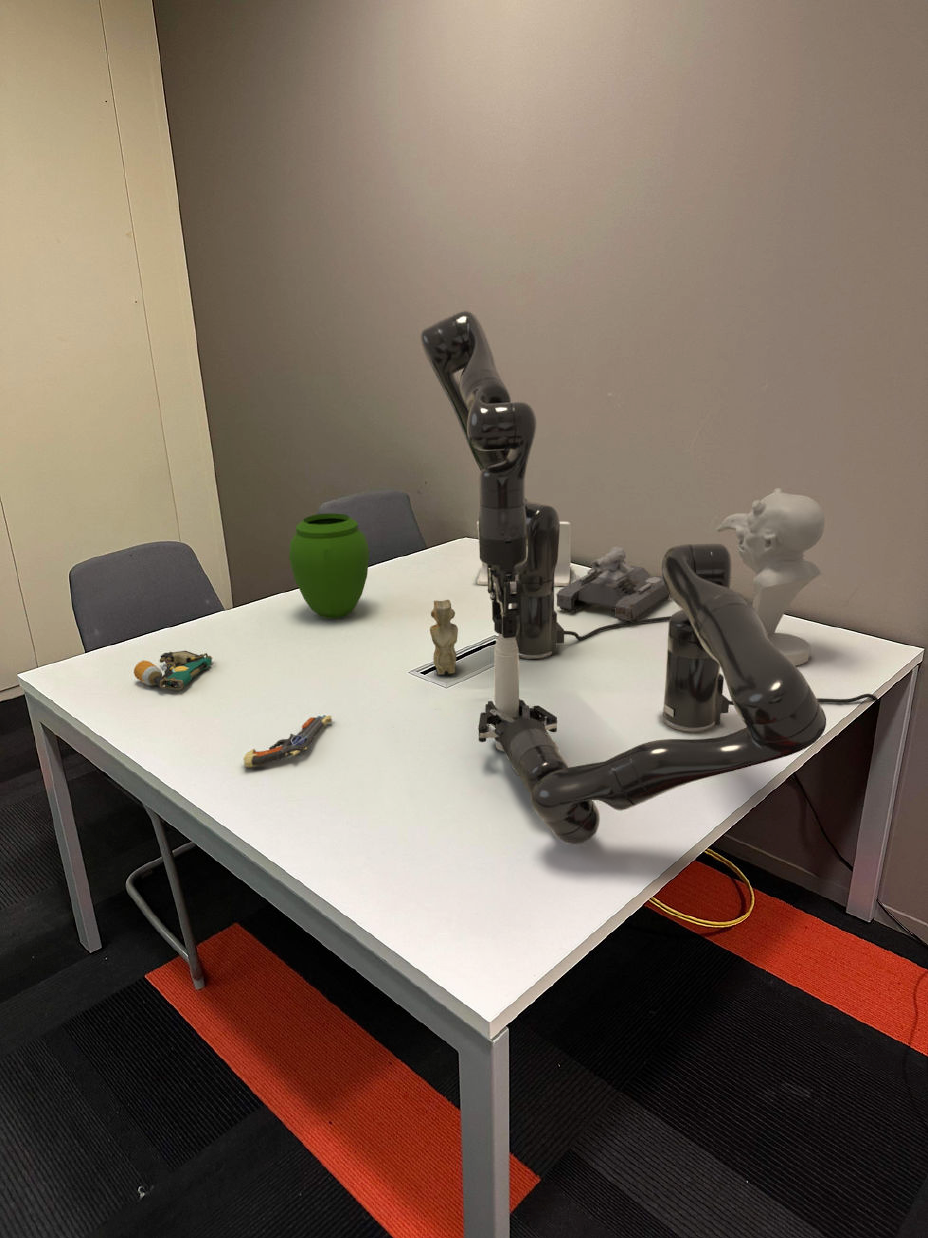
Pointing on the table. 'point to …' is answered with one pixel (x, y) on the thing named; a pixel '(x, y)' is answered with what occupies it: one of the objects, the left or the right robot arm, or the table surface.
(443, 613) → the sculpture
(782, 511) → the bust sculpture
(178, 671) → the spray gun
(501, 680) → the bottle
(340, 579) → the vase
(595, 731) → the table surface
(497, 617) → the cap
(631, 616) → the toy
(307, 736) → the toy gun
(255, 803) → the table surface
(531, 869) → the table surface
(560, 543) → the tablet stand
